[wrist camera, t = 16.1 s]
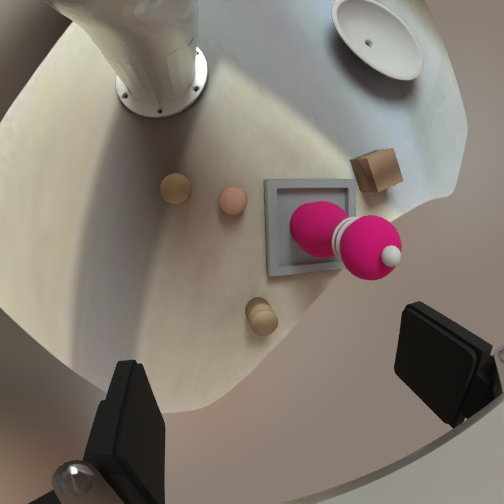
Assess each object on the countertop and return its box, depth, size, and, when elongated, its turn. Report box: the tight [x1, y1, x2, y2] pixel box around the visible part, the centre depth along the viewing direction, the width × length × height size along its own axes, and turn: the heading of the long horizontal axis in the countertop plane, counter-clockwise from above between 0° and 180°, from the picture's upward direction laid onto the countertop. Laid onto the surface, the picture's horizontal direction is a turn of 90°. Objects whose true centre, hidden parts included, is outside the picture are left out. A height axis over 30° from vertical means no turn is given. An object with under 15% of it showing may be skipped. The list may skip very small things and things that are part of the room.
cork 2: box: [245, 298, 278, 335], centre depth 41 cm, size 4×4×5 cm
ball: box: [219, 186, 247, 214], centre depth 38 cm, size 4×4×4 cm
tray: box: [264, 179, 356, 277], centre depth 41 cm, size 13×13×2 cm
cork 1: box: [160, 173, 192, 204], centre depth 35 cm, size 4×4×5 cm
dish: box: [331, 0, 424, 81], centre depth 35 cm, size 18×14×5 cm
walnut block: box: [350, 148, 403, 192], centre depth 40 cm, size 5×5×5 cm
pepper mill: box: [290, 201, 401, 280], centre depth 32 cm, size 7×7×20 cm
